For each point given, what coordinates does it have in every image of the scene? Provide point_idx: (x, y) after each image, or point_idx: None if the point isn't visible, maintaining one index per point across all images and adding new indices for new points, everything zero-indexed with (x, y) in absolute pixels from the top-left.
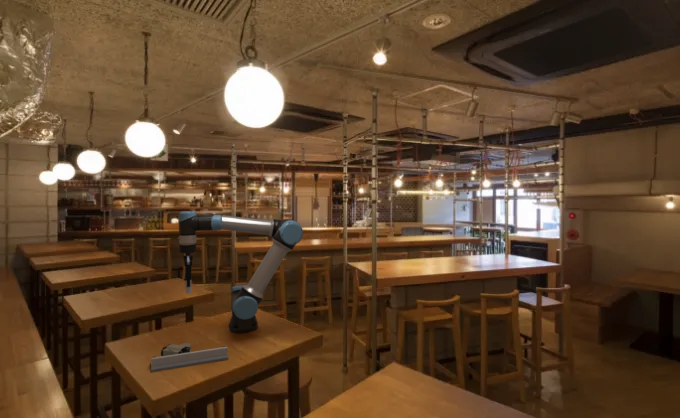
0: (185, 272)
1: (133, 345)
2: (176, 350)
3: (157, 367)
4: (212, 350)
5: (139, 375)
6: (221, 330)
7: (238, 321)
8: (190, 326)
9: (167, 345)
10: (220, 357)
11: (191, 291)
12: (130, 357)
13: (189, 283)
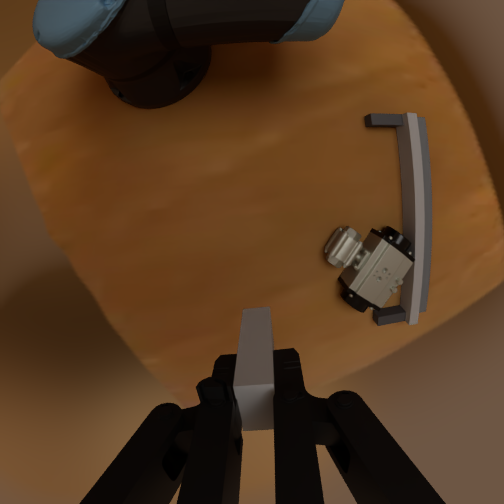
0: (180, 483)
1: None
2: (399, 269)
3: (420, 299)
4: (421, 159)
5: (425, 327)
6: (154, 133)
7: (188, 56)
8: (95, 248)
9: (363, 302)
10: (420, 137)
11: (269, 315)
12: (313, 373)
13: (301, 375)
